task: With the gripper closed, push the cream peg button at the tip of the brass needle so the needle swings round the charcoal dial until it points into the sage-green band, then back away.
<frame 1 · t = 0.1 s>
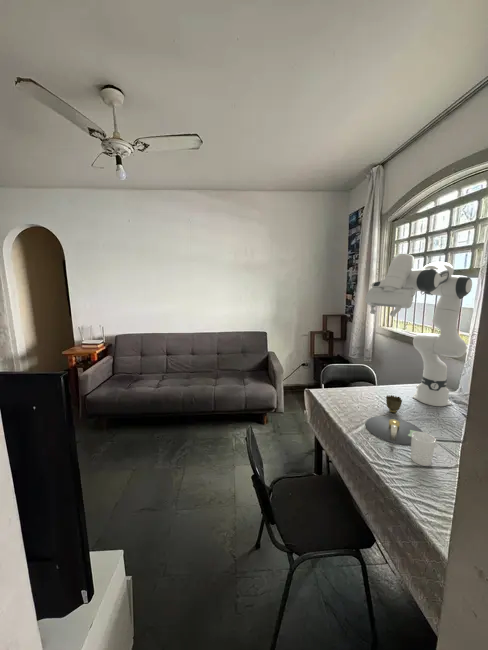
hand: (381, 314, 124), 54 cm above the table, tool tilted 30°, fingers open, 8 cm apart
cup: (392, 412, 149), on the table
needle: (394, 426, 127), point 4 cm above the table, hinge at 0.0°
dial: (393, 429, 132), on the table
white cup: (420, 461, 110), on the table
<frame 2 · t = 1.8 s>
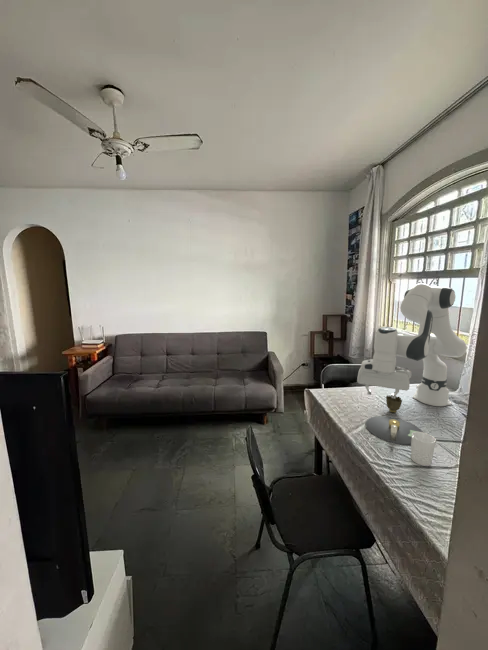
hand: (381, 396, 122), 20 cm above the table, tool pointing down, fingers open, 8 cm apart
nothing on the table moved.
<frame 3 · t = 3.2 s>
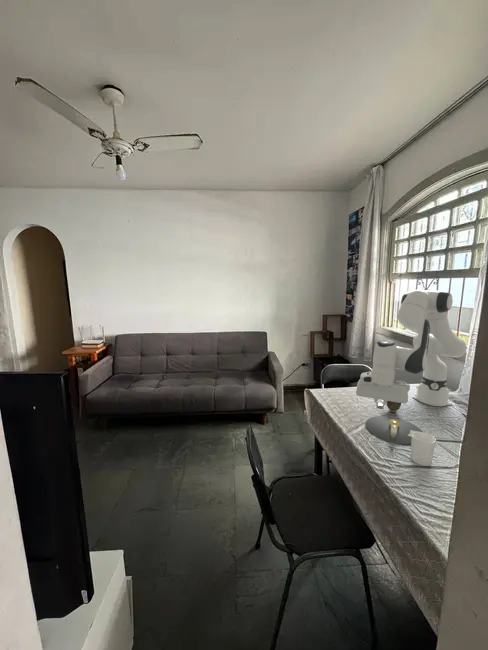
hand: (379, 408, 123), 14 cm above the table, tool pointing down, fingers closed
nothing on the table moved.
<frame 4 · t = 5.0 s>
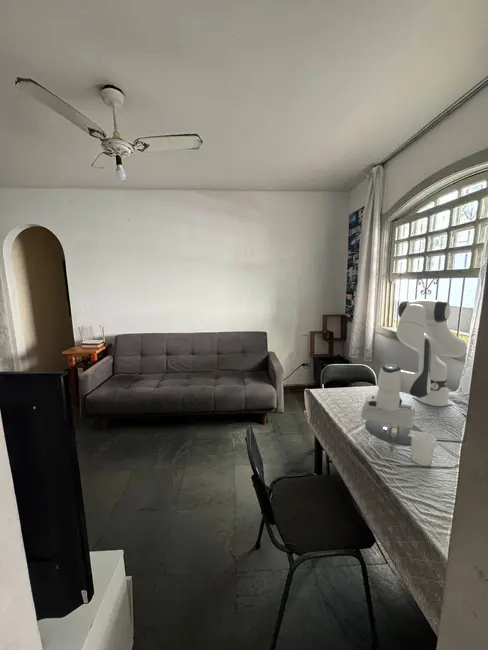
hand: (384, 431, 124), 3 cm above the table, tool pointing down, fingers closed
needle: (394, 426, 127), point 4 cm above the table, hinge at 0.5°, touching gripper
everything else where it was.
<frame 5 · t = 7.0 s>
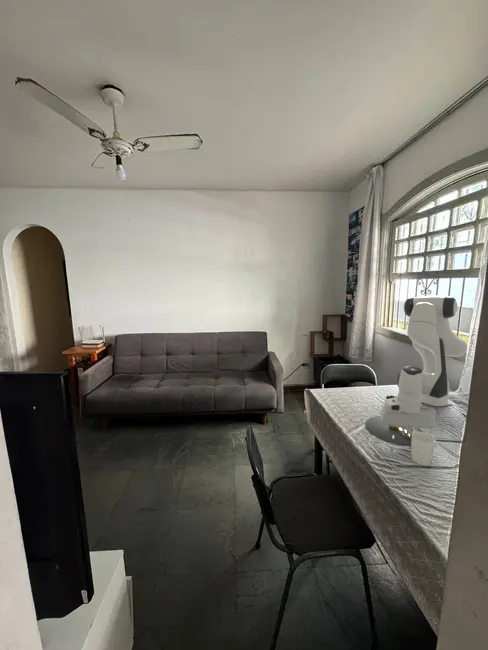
hand: (405, 434, 121), 4 cm above the table, tool pointing down, fingers closed
needle: (402, 427, 126), point 4 cm above the table, hinge at 42.8°, touching gripper
everything else where it was.
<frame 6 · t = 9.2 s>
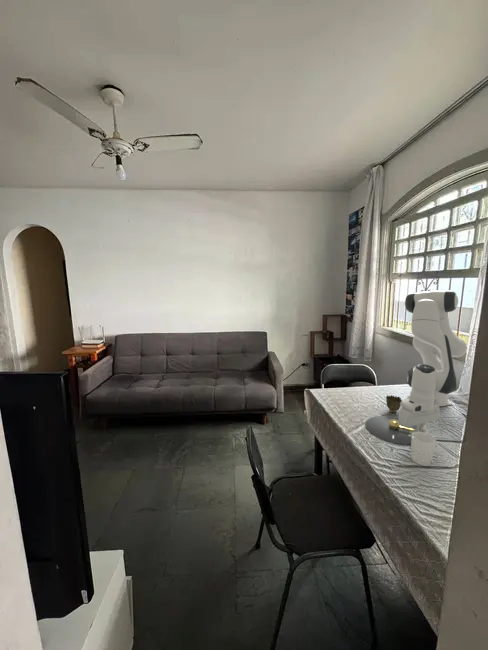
hand: (417, 432, 123), 4 cm above the table, tool pointing down, fingers closed
needle: (406, 424, 128), point 4 cm above the table, hinge at 84.4°, touching gripper
everything else where it was.
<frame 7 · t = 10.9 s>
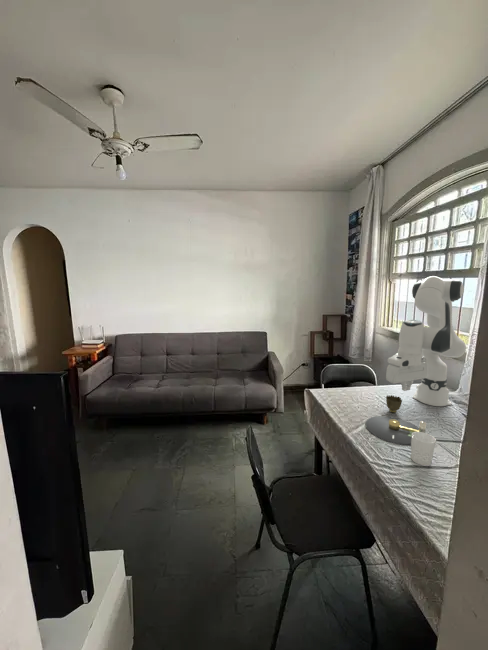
hand: (405, 390, 120), 23 cm above the table, tool pointing down, fingers closed
needle: (406, 424, 128), point 4 cm above the table, hinge at 84.6°
everything else where it was.
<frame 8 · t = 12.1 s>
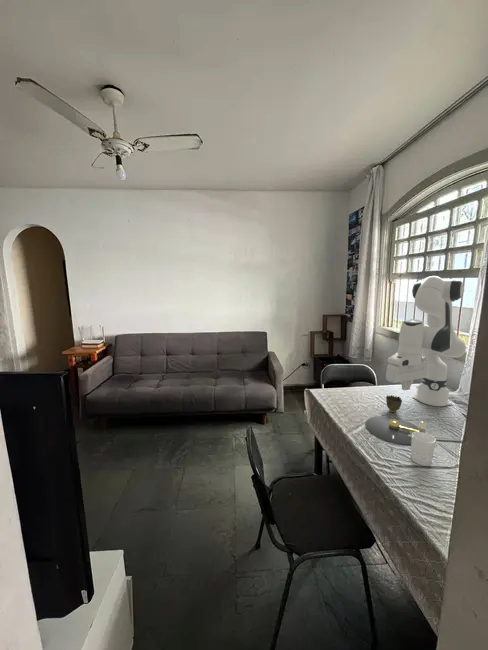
hand: (405, 389, 120), 23 cm above the table, tool pointing down, fingers closed
nothing on the table moved.
at the end: needle at +85° (first picture: +0°); the gripper is holding nothing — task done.
